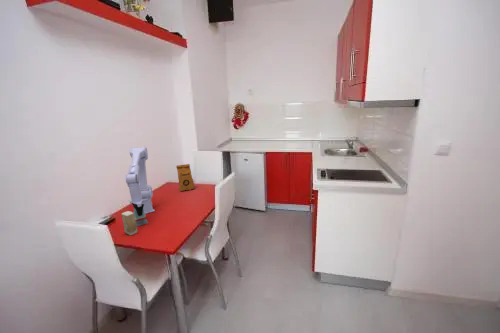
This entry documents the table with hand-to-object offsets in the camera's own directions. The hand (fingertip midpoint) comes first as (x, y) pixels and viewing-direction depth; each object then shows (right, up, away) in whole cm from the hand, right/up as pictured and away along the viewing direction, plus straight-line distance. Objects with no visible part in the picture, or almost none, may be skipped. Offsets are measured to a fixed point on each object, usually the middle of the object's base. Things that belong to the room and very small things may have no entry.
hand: (139, 214), depth 148 cm
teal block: (0, -2, 0) cm, 2 cm away
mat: (0, -6, +2) cm, 6 cm away
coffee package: (+14, +9, +57) cm, 60 cm away
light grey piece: (-2, -6, +1) cm, 6 cm away
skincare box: (0, -9, -10) cm, 13 cm away
